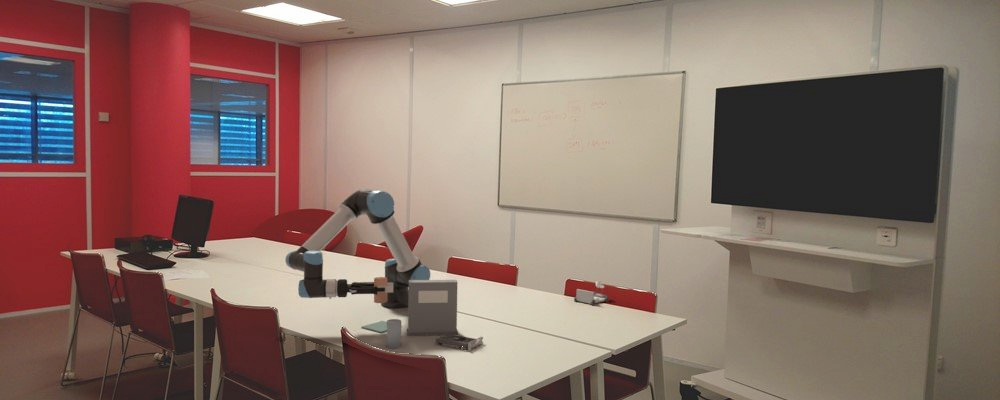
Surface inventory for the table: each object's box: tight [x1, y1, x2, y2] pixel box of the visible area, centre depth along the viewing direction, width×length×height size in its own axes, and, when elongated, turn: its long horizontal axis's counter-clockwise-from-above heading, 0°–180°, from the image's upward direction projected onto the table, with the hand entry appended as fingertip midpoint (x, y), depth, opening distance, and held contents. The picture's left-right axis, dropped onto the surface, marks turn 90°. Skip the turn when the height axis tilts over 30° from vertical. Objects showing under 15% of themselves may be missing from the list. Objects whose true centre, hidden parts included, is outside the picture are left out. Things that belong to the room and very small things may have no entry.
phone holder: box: [573, 281, 610, 307], centre depth 319 cm, size 18×10×12 cm
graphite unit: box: [406, 279, 459, 337], centre depth 254 cm, size 7×21×22 cm, turn 99°
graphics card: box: [435, 334, 484, 352], centre depth 240 cm, size 17×4×12 cm
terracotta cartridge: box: [373, 276, 387, 304], centre depth 259 cm, size 6×6×10 cm
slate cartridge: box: [385, 318, 402, 350], centre depth 235 cm, size 6×6×10 cm
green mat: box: [361, 320, 403, 334], centre depth 261 cm, size 12×12×1 cm
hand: (393, 287), depth 259 cm, fingers closed on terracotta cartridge, 5 cm apart
